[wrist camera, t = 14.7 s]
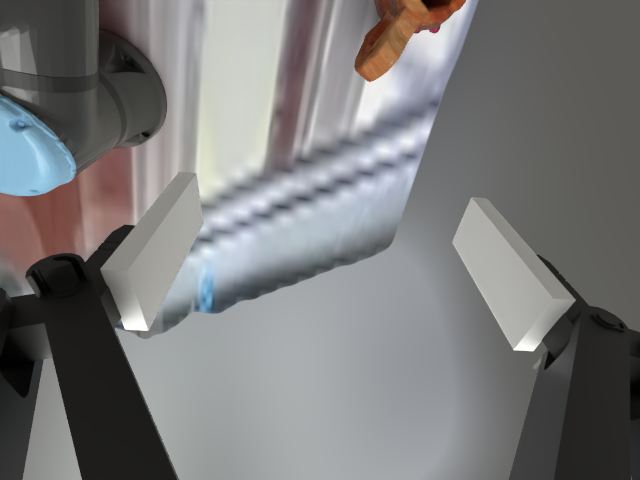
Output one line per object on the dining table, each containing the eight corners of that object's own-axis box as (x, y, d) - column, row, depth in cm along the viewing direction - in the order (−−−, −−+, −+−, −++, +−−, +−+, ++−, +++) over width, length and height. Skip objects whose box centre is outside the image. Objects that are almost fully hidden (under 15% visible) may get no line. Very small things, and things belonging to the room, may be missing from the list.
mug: (409, -82, 36) (456, -127, 24) (456, -25, 39) (519, -39, 26) (328, 40, 43) (333, 55, 30) (373, 81, 45) (394, 108, 33)
